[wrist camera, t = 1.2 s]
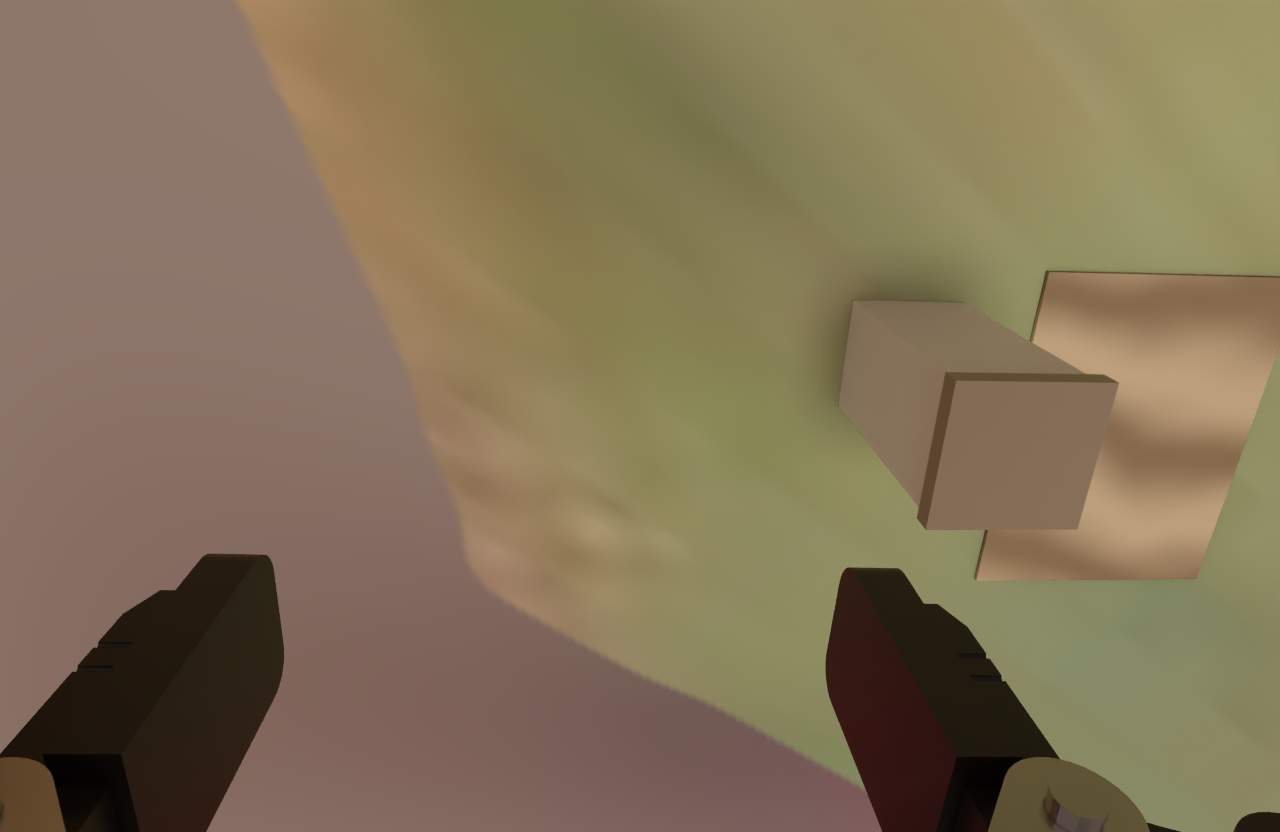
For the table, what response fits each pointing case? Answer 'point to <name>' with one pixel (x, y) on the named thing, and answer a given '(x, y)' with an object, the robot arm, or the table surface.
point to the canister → (973, 416)
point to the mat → (1150, 418)
